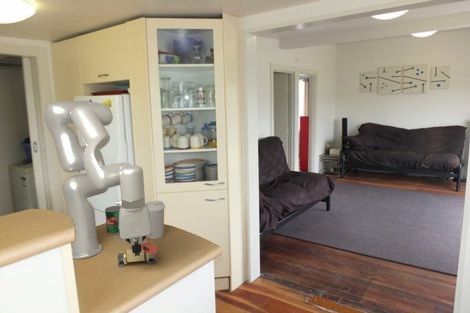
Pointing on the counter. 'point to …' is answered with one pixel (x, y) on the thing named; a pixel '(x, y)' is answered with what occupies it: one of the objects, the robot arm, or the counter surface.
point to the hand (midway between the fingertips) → (137, 254)
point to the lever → (147, 247)
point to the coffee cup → (156, 218)
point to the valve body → (134, 257)
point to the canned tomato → (112, 219)
